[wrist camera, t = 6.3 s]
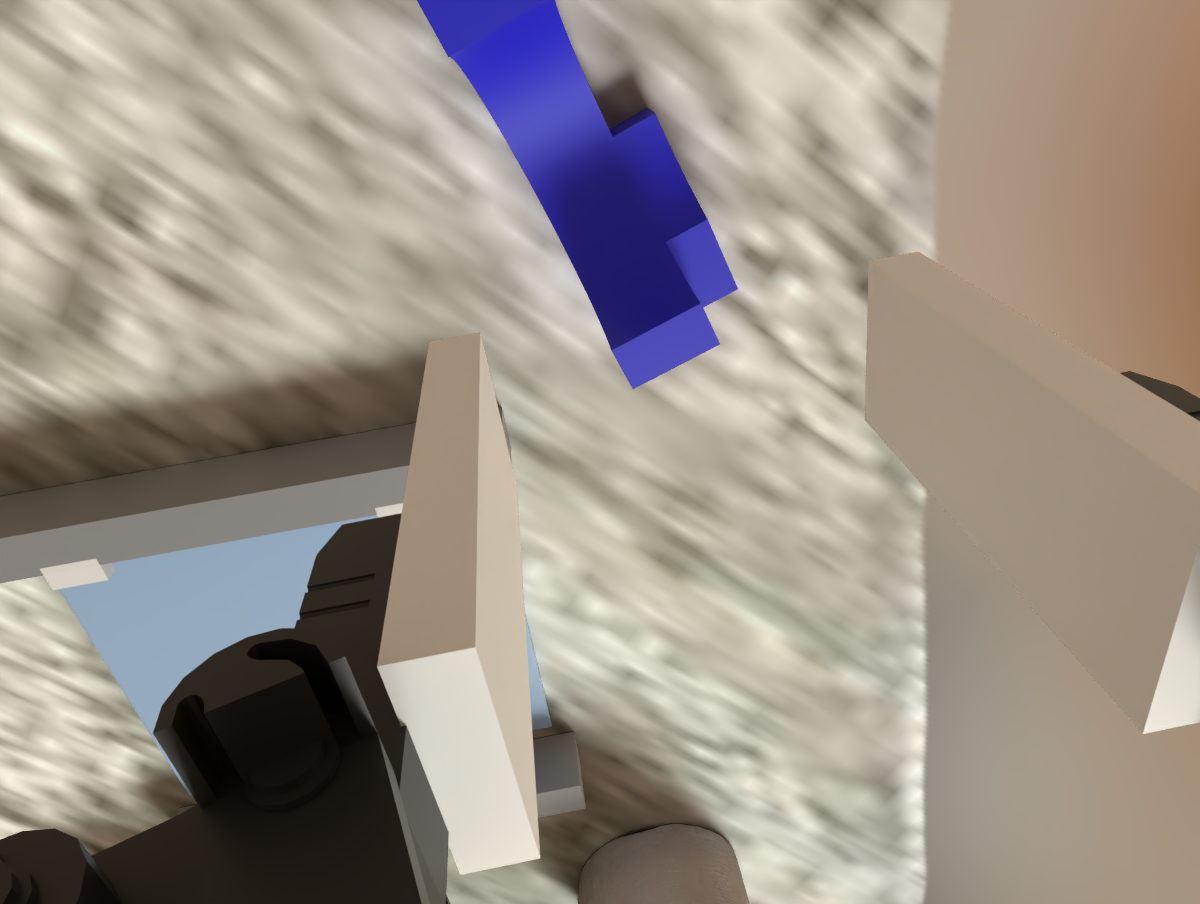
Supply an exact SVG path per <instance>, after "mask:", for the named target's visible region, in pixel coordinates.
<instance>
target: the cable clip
mask: <svg viewBox="0 0 1200 904" xmlns="http://www.w3.org/2000/svg"><path fill="white" fill-rule="evenodd" d="M417 1H418V3H419V5H420V7H421V8H422V10H423V12H424V14H425V16H426V17H427V19H428V21H429V23H430V25H431V26H432V28H433V30H434V32H435V34H436V35H437V37H438V39H439V41H440V43H441V44H442V46H443V48H444V50H445V52H446V53H447V55H448V57H451V58H452V59H453V60H454V61H455V62H456V63H457V64H458V65H459V67H460V68H461V69H462V71H463V72H464V73H465V75H466V76H467V78H468V79H469V81H470V82H471V84H472V85H473V87H474V88H475V90H476V91H477V93H478V95H479V96H480V98H481V99H482V101H483V103H484V104H485V106H486V107H487V109H488V111H489V112H490V114H491V116H492V117H493V119H494V121H495V122H496V124H497V126H498V127H499V129H500V131H501V133H502V134H503V136H504V138H505V139H506V141H507V143H508V145H509V146H510V148H511V150H512V152H513V153H514V155H515V157H516V159H517V160H518V162H519V164H520V166H521V168H522V169H523V171H524V173H525V175H526V177H527V178H528V180H529V182H530V184H531V186H532V188H533V189H534V191H535V193H536V195H537V197H538V199H539V200H540V202H541V204H542V206H543V208H544V210H545V212H546V214H547V215H548V217H549V219H550V221H551V223H552V225H553V227H554V229H555V231H556V233H557V235H558V236H559V238H560V240H561V242H562V244H563V246H564V248H565V250H566V252H567V254H568V256H569V258H570V260H571V262H572V264H573V266H574V268H575V270H576V272H577V274H578V276H579V278H580V280H581V282H582V284H583V286H584V288H585V291H586V293H587V295H588V297H589V299H590V301H591V303H592V305H593V308H594V310H595V312H596V314H597V316H598V319H599V321H600V323H601V325H602V328H603V330H604V332H605V335H606V337H607V340H608V342H609V345H610V348H611V350H612V352H613V354H614V356H615V358H616V359H617V361H618V363H619V365H620V367H621V368H622V370H623V372H624V374H625V376H626V377H627V379H628V381H629V383H630V385H631V386H632V388H633V389H634V388H636V387H638V386H640V385H642V384H644V383H646V382H648V381H650V380H652V379H654V378H656V377H658V376H659V375H661V374H663V373H665V372H667V371H669V370H671V369H673V368H675V367H677V366H679V365H681V364H683V363H685V362H687V361H688V360H690V359H692V358H694V357H696V356H698V355H700V354H702V353H704V352H706V351H708V350H710V349H712V348H714V347H715V346H717V345H719V344H720V343H719V341H718V339H717V337H716V335H715V332H714V330H713V328H712V326H711V324H710V322H709V320H708V318H707V315H706V313H705V311H704V309H703V307H705V306H707V305H709V304H710V303H712V302H714V301H716V300H718V299H720V298H722V297H724V296H726V295H728V294H729V293H731V292H733V291H735V290H737V289H738V288H737V286H736V283H735V281H734V279H733V277H732V274H731V272H730V270H729V267H728V265H727V263H726V261H725V258H724V256H723V254H722V251H721V249H720V247H719V245H718V242H717V240H716V238H715V235H714V233H713V231H712V229H711V226H710V224H709V222H708V219H707V218H706V216H705V214H704V212H703V210H702V208H701V207H700V205H699V203H698V201H697V199H696V197H695V195H694V193H693V192H692V190H691V188H690V186H689V184H688V182H687V180H686V178H685V176H684V174H683V172H682V170H681V168H680V166H679V164H678V162H677V160H676V158H675V156H674V153H673V151H672V149H671V147H670V145H669V143H668V141H667V139H666V136H665V134H664V132H663V130H662V128H661V126H660V123H659V121H658V119H657V117H656V114H655V113H654V112H653V111H651V110H650V109H649V108H646V109H645V110H643V111H641V112H639V113H638V114H636V115H634V116H632V117H631V118H629V119H627V120H625V121H624V122H622V123H620V124H618V125H617V126H615V127H613V128H611V129H610V130H609V128H608V126H607V124H606V122H605V120H604V117H603V115H602V113H601V111H600V109H599V107H598V104H597V102H596V100H595V98H594V96H593V93H592V91H591V89H590V87H589V85H588V82H587V80H586V78H585V76H584V73H583V71H582V69H581V67H580V64H579V62H578V60H577V57H576V55H575V53H574V50H573V48H572V45H571V43H570V41H569V38H568V36H567V33H566V31H565V28H564V26H563V23H562V20H561V18H560V15H559V12H558V9H557V6H556V2H555V0H417Z"/></svg>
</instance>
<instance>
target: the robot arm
mask: <svg viewBox="0 0 1200 904" xmlns="http://www.w3.org/2000/svg"><path fill="white" fill-rule="evenodd" d="M865 421H866V422H867V423H868V424H869V425H870V426H871V427H872V429H873V430H874V431H875V432H876V433H877V434H878V435H879V436H880V438H881V439H882V440H883V441H884V442H885V443H886V444H887V445H888V447H889V448H890V449H891V450H892V451H893V452H894V453H895V455H896V456H897V457H898V458H899V459H900V460H901V461H902V462H903V464H904V465H905V466H906V467H907V468H908V469H909V470H910V471H911V473H912V474H913V475H914V476H915V477H916V478H917V479H918V481H919V482H920V483H921V484H922V485H923V486H924V487H925V488H926V490H927V491H928V492H929V493H930V494H931V495H932V496H933V497H934V499H935V500H936V501H937V502H938V503H939V504H940V505H941V507H942V508H943V509H944V510H945V511H946V512H947V513H948V514H949V516H950V517H951V518H952V519H953V520H954V521H955V522H956V523H957V524H958V526H959V527H960V528H961V529H962V530H963V531H964V533H965V534H966V535H967V536H968V537H969V538H970V539H971V540H972V542H973V543H974V544H975V545H976V546H977V547H978V548H979V549H980V551H981V552H982V553H983V554H984V555H985V556H986V557H987V558H988V560H989V561H990V562H991V563H992V564H993V565H994V566H995V568H996V569H997V570H998V571H999V572H1000V573H1001V574H1002V575H1003V576H1004V578H1005V579H1006V580H1007V581H1008V582H1009V583H1010V584H1011V586H1012V587H1013V588H1014V589H1015V590H1016V591H1017V592H1018V593H1019V595H1020V596H1021V597H1022V598H1023V599H1024V600H1025V601H1026V603H1027V604H1028V605H1029V606H1030V607H1031V608H1032V609H1033V610H1034V612H1035V613H1036V614H1037V615H1038V616H1039V617H1040V618H1041V620H1042V621H1043V622H1044V623H1045V624H1046V625H1047V626H1048V627H1049V629H1050V630H1051V631H1052V632H1053V633H1054V634H1055V635H1056V636H1057V637H1058V639H1059V640H1060V641H1061V642H1062V643H1063V644H1064V646H1065V647H1066V648H1067V649H1068V650H1069V651H1070V652H1071V653H1072V655H1073V656H1074V657H1075V658H1076V659H1077V660H1078V661H1079V662H1080V664H1081V665H1082V666H1083V667H1084V668H1085V669H1086V670H1087V672H1088V673H1089V674H1090V675H1091V676H1092V677H1093V678H1094V679H1095V681H1096V682H1097V683H1098V684H1099V685H1100V686H1101V687H1102V688H1103V689H1104V691H1105V692H1106V693H1107V694H1108V695H1109V696H1110V697H1111V699H1112V700H1113V701H1114V702H1115V703H1116V704H1117V705H1118V707H1119V708H1120V709H1121V710H1122V711H1123V712H1124V713H1125V714H1126V716H1127V717H1128V718H1129V719H1130V720H1131V721H1132V722H1133V724H1134V725H1135V726H1136V727H1137V728H1138V729H1139V730H1140V731H1141V733H1142V734H1145V733H1150V732H1154V731H1160V730H1164V729H1169V728H1174V727H1179V726H1184V725H1188V724H1193V723H1198V722H1200V398H1198V397H1196V396H1194V395H1192V394H1191V393H1189V392H1187V391H1185V390H1184V389H1182V388H1180V387H1178V386H1176V385H1172V384H1169V383H1166V382H1163V381H1160V380H1156V379H1153V378H1150V377H1147V376H1143V375H1140V374H1137V373H1134V372H1131V371H1128V372H1123V373H1119V372H1117V371H1115V370H1114V369H1112V368H1110V367H1108V366H1107V365H1105V364H1104V363H1102V362H1100V361H1099V360H1097V359H1095V358H1094V357H1092V356H1090V355H1089V354H1087V353H1085V352H1084V351H1082V350H1080V349H1079V348H1077V347H1075V346H1074V345H1072V344H1070V343H1069V342H1067V341H1065V340H1064V339H1062V338H1061V337H1059V336H1057V335H1055V334H1054V333H1052V332H1051V331H1049V330H1047V329H1046V328H1044V327H1042V326H1040V325H1039V324H1037V323H1036V322H1034V321H1032V320H1031V319H1029V318H1027V317H1026V316H1024V315H1022V314H1021V313H1019V312H1017V311H1016V310H1014V309H1012V308H1011V307H1009V306H1007V305H1006V304H1004V303H1002V302H1001V301H999V300H997V299H996V298H994V297H992V296H991V295H989V294H987V293H986V292H984V291H983V290H981V289H979V288H977V287H976V286H974V285H973V284H971V283H969V282H967V281H966V280H964V279H963V278H961V277H959V276H958V275H956V274H954V273H953V272H951V271H949V270H948V269H946V268H944V267H943V266H941V265H939V264H938V263H936V262H934V261H933V260H931V259H929V258H928V257H926V256H924V255H923V254H921V253H919V252H914V253H909V254H903V255H898V256H892V257H887V258H882V259H876V260H871V261H869V280H868V317H867V353H866V390H865ZM307 588H308V592H307V593H305V595H304V598H303V601H302V605H301V608H300V611H299V615H300V620H297V621H296V625H295V628H280V629H276V630H272V631H269V632H265V633H261V634H257V635H253V636H249V637H246V638H244V639H242V640H240V641H238V642H236V643H234V644H232V645H231V646H229V647H227V648H225V649H223V650H221V651H219V652H217V653H215V654H213V655H212V656H210V657H209V658H208V659H207V660H205V661H204V662H203V663H202V664H200V665H199V666H198V667H196V668H195V669H194V670H193V671H191V672H190V673H189V674H188V675H186V676H185V677H184V678H183V679H182V680H181V682H180V683H179V684H178V685H177V687H176V688H175V689H174V691H173V692H172V693H171V694H170V696H169V697H168V698H167V699H166V701H165V702H164V703H163V705H162V707H161V710H160V713H159V716H158V719H157V722H156V725H155V728H154V731H153V735H154V736H155V738H156V739H157V741H158V742H159V744H160V745H161V747H162V749H163V750H164V752H165V753H166V755H167V756H168V758H169V760H170V761H171V763H172V764H173V766H174V767H175V769H176V771H177V772H178V774H179V775H180V777H181V778H182V780H183V782H184V783H185V785H186V786H187V788H188V789H189V791H190V793H191V794H192V796H193V797H194V799H195V800H196V802H197V803H198V804H197V805H195V806H193V807H191V808H190V809H188V810H186V811H184V812H182V813H181V814H179V815H177V816H175V817H173V818H172V819H170V820H168V821H165V822H163V823H161V824H159V825H157V826H155V827H153V828H151V829H148V830H146V831H144V832H142V833H140V834H138V835H136V836H133V837H131V838H129V839H127V840H125V841H123V842H121V843H118V844H116V845H114V846H112V847H110V848H108V849H106V850H103V851H101V852H99V853H97V854H95V855H93V856H90V854H89V853H88V852H87V850H86V849H85V848H84V847H83V845H82V844H81V843H80V842H79V840H78V839H77V838H75V837H73V836H70V835H68V834H66V833H63V832H61V831H59V830H57V829H44V830H32V831H22V832H19V833H17V834H14V835H12V836H9V837H6V838H4V839H1V840H0V904H450V902H449V900H448V897H447V895H446V884H447V861H448V845H449V847H450V850H451V852H452V855H453V857H454V860H455V862H456V865H457V867H458V870H459V872H460V875H462V874H467V873H472V872H477V871H482V870H486V869H491V868H496V867H501V866H506V865H511V864H515V863H520V862H525V861H530V860H535V859H540V844H539V828H538V813H537V797H536V781H535V765H534V749H533V734H532V718H531V702H530V686H529V670H528V655H527V639H526V623H525V607H524V591H523V576H522V560H521V544H520V528H519V512H518V497H517V485H516V480H515V476H514V472H513V468H512V464H511V459H510V455H509V451H508V447H507V443H506V438H505V434H504V430H503V426H502V422H501V417H500V413H499V409H498V405H497V401H496V396H495V392H494V388H493V384H492V380H491V375H490V371H489V367H488V363H487V359H486V354H485V350H484V346H483V342H482V338H481V333H480V332H479V333H474V334H469V335H463V336H458V337H452V338H447V339H441V340H436V341H431V342H429V346H428V352H427V359H426V365H425V371H424V377H423V384H422V390H421V396H420V402H419V409H418V415H417V421H416V427H415V433H414V440H413V446H412V452H411V458H410V465H409V471H408V477H407V483H406V490H405V496H404V502H403V508H402V513H400V514H395V515H389V516H384V517H379V518H374V519H368V520H363V521H358V522H353V523H347V524H342V525H341V526H340V528H339V529H338V530H337V531H336V532H335V534H334V535H333V536H332V537H331V538H330V539H329V541H328V542H327V543H326V544H325V545H324V546H323V548H322V549H321V550H320V551H319V552H318V554H317V555H316V558H315V561H314V565H313V568H312V571H311V575H310V578H309V581H308V585H307Z"/></svg>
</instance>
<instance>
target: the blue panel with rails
mask: <svg viewBox="0 0 1200 904" xmlns="http://www.w3.org/2000/svg"><path fill="white" fill-rule="evenodd" d="M498 409H499V413H500V417H501V422H502V426H503V430H504V434H505V438H506V443H507V447H508V451H509V455H510V459H511V446H510V442H509V437H508V433H507V428H506V424H505V419H504V415H503V410H502V408H498ZM415 427H416V423H412V424H406V425H401V426H395V427H389V428H384V429H378V430H373V431H367V432H361V433H356V434H350V435H344V436H339V437H333V438H327V439H322V440H316V441H310V442H305V443H299V444H293V445H288V446H282V447H276V448H271V449H265V450H260V451H254V452H248V453H243V454H237V455H231V456H226V457H220V458H214V459H209V460H203V461H197V462H192V463H186V464H180V465H175V466H169V467H163V468H158V469H152V470H147V471H141V472H135V473H130V474H124V475H118V476H113V477H107V478H101V479H96V480H90V481H84V482H79V483H73V484H67V485H62V486H56V487H50V488H45V489H39V490H34V491H28V492H22V493H17V494H11V495H5V496H0V583H4V582H9V581H15V580H20V579H26V578H32V577H37V576H43V575H44V577H45V578H46V580H47V582H48V583H49V585H50V586H51V588H52V589H53V590H57V589H59V590H60V591H61V593H62V595H63V596H64V598H65V599H66V601H67V603H68V604H69V606H70V607H71V609H72V610H73V612H74V614H75V615H76V617H77V618H78V620H79V622H80V623H81V625H82V626H83V628H84V630H85V631H86V633H87V634H88V636H89V638H90V639H91V641H92V642H93V644H94V645H95V647H96V649H97V650H98V652H99V653H100V655H101V657H102V658H103V660H104V661H105V663H106V665H107V666H108V668H109V669H110V671H111V673H112V674H113V676H114V677H115V679H116V680H117V682H118V684H119V685H120V687H121V688H122V690H123V692H124V693H125V695H126V696H127V698H128V700H129V701H130V703H131V704H132V706H133V707H134V709H135V711H136V712H137V714H138V715H139V717H140V719H141V720H142V722H143V723H144V725H145V727H146V728H147V730H148V731H149V733H150V735H151V736H152V738H153V739H154V741H155V742H156V744H157V746H158V747H159V749H160V750H161V752H162V754H163V755H164V757H165V758H166V760H167V762H168V763H169V765H170V766H171V768H172V770H173V771H174V773H175V774H176V776H177V777H178V779H179V781H180V782H181V784H182V785H183V787H184V789H185V790H186V792H187V793H188V795H189V797H191V796H192V794H191V793H190V791H189V789H188V788H187V786H186V785H185V783H184V782H183V780H182V778H181V777H180V775H179V774H178V772H177V771H176V769H175V767H174V766H173V764H172V763H171V761H170V760H169V758H168V756H167V755H166V753H165V752H164V750H163V749H162V747H161V745H160V744H159V742H158V741H157V739H156V738H155V736H154V735H153V731H154V728H155V725H156V722H157V719H158V716H159V713H160V710H161V707H162V705H163V703H164V702H165V701H166V699H167V698H168V697H169V696H170V694H171V693H172V692H173V691H174V689H175V688H176V687H177V685H178V684H179V683H180V682H181V680H182V679H183V678H184V677H185V676H186V675H188V674H189V673H190V672H191V671H193V670H194V669H195V668H196V667H198V666H199V665H200V664H202V663H203V662H204V661H205V660H207V659H208V658H209V657H210V656H212V655H213V654H215V653H217V652H219V651H221V650H223V649H225V648H227V647H229V646H231V645H232V644H234V643H236V642H238V641H240V640H242V639H244V638H246V637H249V636H253V635H257V634H261V633H265V632H269V631H272V630H276V629H280V628H295V625H296V621H297V620H300V615H299V611H300V608H301V605H302V601H303V598H304V595H305V593H307V592H308V588H307V585H308V581H309V578H310V575H311V571H312V568H313V565H314V561H315V558H316V555H317V554H318V552H319V551H320V550H321V549H322V548H323V546H324V545H325V544H326V543H327V542H328V541H329V539H330V538H331V537H332V536H333V535H334V534H335V532H336V531H337V530H338V529H339V528H340V526H341V525H342V524H347V523H353V522H358V521H363V520H368V519H374V518H379V517H384V516H389V515H395V514H400V513H402V508H403V502H404V496H405V490H406V483H407V477H408V471H409V465H410V458H411V452H412V446H413V440H414V433H415ZM511 464H512V462H511ZM525 623H526V639H527V655H528V670H529V686H530V702H531V718H532V730H538V729H543V728H548V727H552V723H551V718H550V714H549V710H548V706H547V702H546V698H545V694H544V689H543V685H542V681H541V677H540V673H539V669H538V665H537V661H536V656H535V652H534V648H533V644H532V640H531V636H530V632H529V627H528V623H527V619H526V615H525ZM533 749H534V765H535V781H536V797H537V813H538V818H542V817H547V816H552V815H557V814H563V813H568V812H573V811H578V810H583V809H586V806H585V798H584V790H583V782H582V774H581V766H580V758H579V752H578V747H577V743H576V738H575V734H574V732H569V733H564V734H559V735H554V736H548V737H543V738H538V739H533ZM193 806H195V805H192V806H187V807H182V808H179V810H178V813H177V815H179V814H181V813H182V812H184V811H186V810H188V809H190V808H191V807H193Z"/></svg>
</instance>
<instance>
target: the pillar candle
mask: <svg viewBox="0 0 1200 904" xmlns="http://www.w3.org/2000/svg"><path fill="white" fill-rule="evenodd" d="M578 904H749V900H748V897H747V893H746V890H745V886H744V883H743V879H742V875H741V871H740V868H739V865H738V861H737V858H736V855H735V853H734V850H733V849H732V847H731V846H730V844H729V843H728V842H727V841H726V840H725V839H724V838H722V837H721V836H720V835H718V834H716V833H714V832H712V831H710V830H707V829H704V828H702V827H697V826H693V825H692V826H689V825H685V824H669V825H663V826H659V827H656V828H654V829H651V830H647V831H643V832H639V833H635V834H632V835H628V836H624V837H620V838H617V839H615V840H613V841H611V842H609V843H607V844H606V845H604V846H603V847H601V848H600V849H599V850H598V851H596V852H595V853H594V854H593V855H592V857H591V858H590V859H589V860H588V861H587V862H586V864H585V865H584V867H583V869H582V872H581V874H580V878H579V895H578Z"/></svg>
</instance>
